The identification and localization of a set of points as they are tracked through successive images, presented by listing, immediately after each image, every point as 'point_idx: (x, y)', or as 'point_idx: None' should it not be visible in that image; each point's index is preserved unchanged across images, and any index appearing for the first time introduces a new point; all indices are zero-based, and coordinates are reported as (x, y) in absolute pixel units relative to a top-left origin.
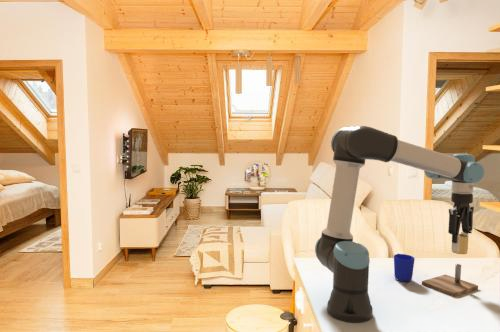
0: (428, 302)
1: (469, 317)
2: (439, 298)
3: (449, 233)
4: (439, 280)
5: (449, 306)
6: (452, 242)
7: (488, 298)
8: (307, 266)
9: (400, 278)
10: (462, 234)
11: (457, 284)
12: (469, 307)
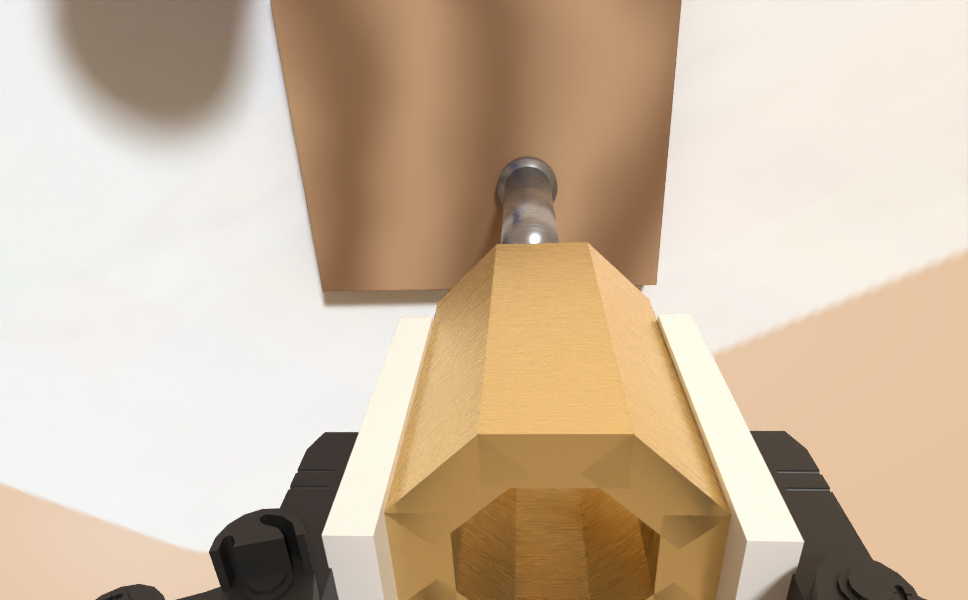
0: (69, 251)
1: (173, 466)
2: (200, 244)
3: (241, 518)
4: (452, 45)
5: (170, 347)
6: (324, 441)
7: None
8: None
9: None
10: (696, 551)
11: (502, 203)
12: (284, 406)
